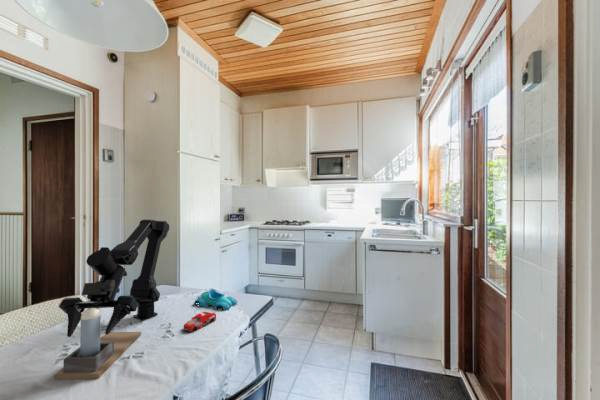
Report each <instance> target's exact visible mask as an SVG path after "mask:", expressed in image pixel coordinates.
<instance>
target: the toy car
mask: <svg viewBox="0 0 600 400" xmlns="http://www.w3.org/2000/svg"><path fill="white" fill-rule="evenodd" d="M193 303H194V305H195V307H200V306H207V307H209V306H208V305H212V306H211V307H214V309H215V310H218V311H220V310H221V311H224V310H227V311H229V309H230V310H231V307H233V306H237V305H238V301H237V300H236V298H234V297H232V296H225V293H221V292H220V291H218V290H216V289H215V288H211V289H210V290H209V291H204V292H203V293H201V294H200V295H198V296H197V299H195V301H194V302H193ZM196 303H199V304H196ZM198 305H200V306H198ZM218 307H219V308H218ZM220 307H222V308H220ZM216 308H217V309H216ZM222 309H223V310H222Z"/></svg>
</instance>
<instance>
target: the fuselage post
mask: <svg viewBox="0 0 600 400" xmlns="http://www.w3.org/2000/svg"><path fill="white" fill-rule="evenodd" d="M81 314H82V315H81V320H80V333H79V335H80V341H79V343H80V344H79V347H80V357H95V356H96V355H97V354H98V353H99V352H100V338H101V325H102V323H101V320H102V319H101V317H102V313H101V310H99V308H87V309H85V310H84V311H83V312H82V313H81Z"/></svg>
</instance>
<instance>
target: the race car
mask: <svg viewBox="0 0 600 400" xmlns="http://www.w3.org/2000/svg"><path fill="white" fill-rule="evenodd" d="M216 319H217V314H216V312H214V311H202V312H199V313H197V314H196V315H195V316H194V315H193V317H191V319H189V320H188V321H186V322H185V323H184V325H183V331H184V332H187V333H188V332H189V333H191V332H192V333H193V332H194V331H195V332H197V331H198V330H200V329H202V328H203V327H205V326H207V325H209V324H212V323H214V322H215V321H216Z"/></svg>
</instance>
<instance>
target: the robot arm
mask: <svg viewBox="0 0 600 400" xmlns="http://www.w3.org/2000/svg"><path fill="white" fill-rule="evenodd" d="M169 231H170V224H169V223H168V222H167V221H166V220H155V219H141V220H140V221H139V225H138V226H136V228H135V229H134V230H133V231H132V233H131V234H130V235H129V236H128V238H127V239H126V240H124V241H123V242H121V243H119V244H117V245H116V246H114V247H113V248H111V249H110V248H109V247H106V246H103V247H100V249H99V250H95V251H93V252H92V253H91V254H90V255H88V257H87V258H86V264H87V265H88V266H89V267H90V268H91V269H92V270H93V272H95V273H96V274H97V275H98V276H100V279H99V281H96V282H85V283H84V285H83V288H82V292H81V296H86V298H87V300H89V301H83V300H82V299H81V298H80V297H79V296H77V297H76V296H75V297H65V298H63V299H62V300H60V303H59V305H58V308H59V309H60V310H62V311H63V312H64V313H65V314H66V315H67V330H66V331H67V334H66V337H68V338H71V337H72V336H73V334H74V333H75V331H76V329H77V327H78V325H79V323H80V322H81V315H82V313H83V312H84V311H85V310H87V309H89V308H97V309H102V308H103V309H105V308H106V309H107V308H113V310H112V311H113V312H112V314H111V317H110V319H109V322H108V324H107V326H106V328H105V331H104V335H105V334H106V335H108V334H109V333H110V332H112V331H113V329H115V328H116V326H117V325H118V324H119V323H120V322H121V320H123V319H124V318H125V317H126V316H127V315H130V314H131V313H132V312H136V314H134V315H133V316H132V317H133V318H135V319H137V320H139V321H145V320H147V319H150V318H153V317H156V316H158V315H159V314H158V313H157V312H155V303H156V302H158V301H159V300H160V296H161V295H160V294H161V293H160V291H159V290H158V288H157V282H156V280H155V271H156V267H157V264H158V258H159V255H160V254H159V253H160V249H161V244H162V242H163V241H164V240H165V238H166V237H167V236H168V232H169ZM146 239H148V240H147V244H146V250H145V254H144V258H143V263H142V266H141V269H140V274H139V276H138V277H137V278H136V279H133V280H132V284H131V288H130V291H129V295H120V296H119V295H118V296H117V293H118V294H119V293H120V290H121V289H120V285H121V283H122V281H123V278H124V277H127V276H128V272H127V271H126V268H125V267H123V266H132V265H133V264H134V263H135V262H136V260H137V259H138V256H139V248H140V247H141V245H143V242H145V240H146ZM116 296H117V299H115V298H116Z"/></svg>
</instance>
